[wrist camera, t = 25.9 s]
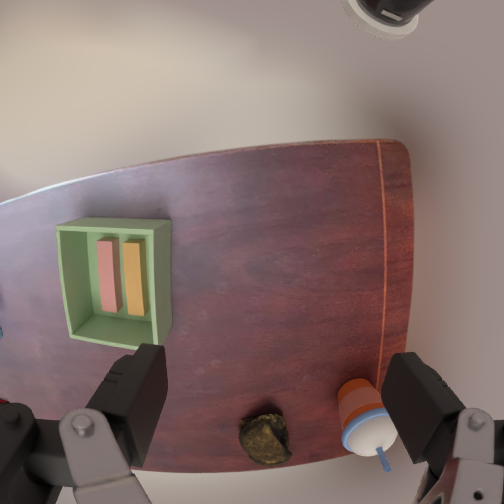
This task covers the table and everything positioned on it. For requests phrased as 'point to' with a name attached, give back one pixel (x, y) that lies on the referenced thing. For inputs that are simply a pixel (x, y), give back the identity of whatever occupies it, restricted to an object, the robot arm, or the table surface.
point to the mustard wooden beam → (136, 276)
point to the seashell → (265, 439)
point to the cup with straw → (365, 420)
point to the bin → (88, 289)
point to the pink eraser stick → (109, 274)
